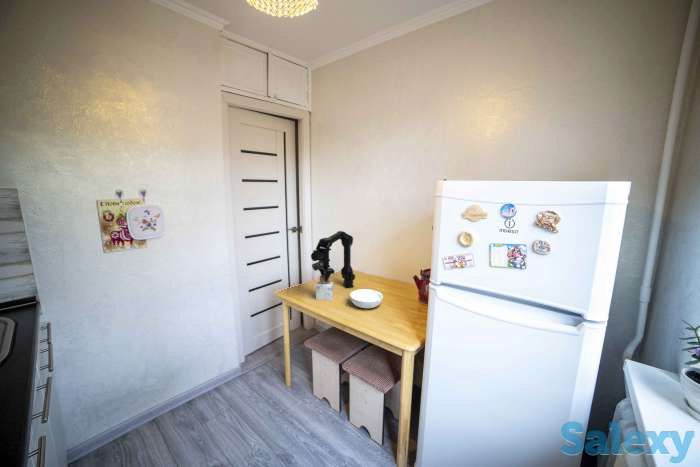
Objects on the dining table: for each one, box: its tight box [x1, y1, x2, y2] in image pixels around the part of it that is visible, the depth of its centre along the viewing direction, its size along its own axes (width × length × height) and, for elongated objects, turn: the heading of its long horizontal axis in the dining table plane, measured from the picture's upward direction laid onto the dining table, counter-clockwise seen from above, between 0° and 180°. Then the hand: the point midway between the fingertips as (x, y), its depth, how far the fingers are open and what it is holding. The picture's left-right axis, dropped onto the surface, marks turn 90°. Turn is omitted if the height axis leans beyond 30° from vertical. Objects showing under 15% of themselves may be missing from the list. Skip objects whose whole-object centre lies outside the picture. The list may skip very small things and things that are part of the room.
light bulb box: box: [315, 280, 334, 301], centre depth 184 cm, size 11×7×11 cm, turn 84°
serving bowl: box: [349, 288, 384, 309], centre depth 176 cm, size 21×21×7 cm
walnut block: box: [319, 274, 331, 284], centre depth 183 cm, size 5×5×4 cm
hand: (324, 280), depth 183 cm, fingers closed on walnut block, 5 cm apart
